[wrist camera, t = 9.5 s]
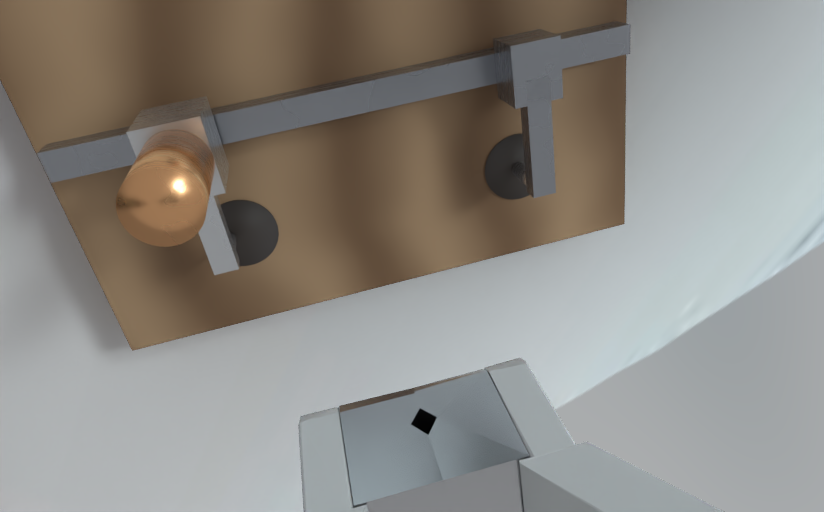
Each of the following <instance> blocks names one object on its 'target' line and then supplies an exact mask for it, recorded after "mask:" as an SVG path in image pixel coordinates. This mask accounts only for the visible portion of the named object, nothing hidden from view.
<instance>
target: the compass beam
mask: <svg viewBox="0 0 824 512" xmlns="http://www.w3.org/2000/svg"><path fill="white" fill-rule="evenodd" d="M493 46H494V47H493V48H488V49H484V50H479V51H475V52H470V53H465V54H461V55H456V56H451V57H447V58H442V59H438V60H433V61H428V62H424V63H419V64H414V65H410V66H405V67H401V68H396V69H391V70H387V71H382V72H377V73H373V74H368V75H364V76H359V77H354V78H350V79H345V80H340V81H336V82H331V83H327V84H322V85H317V86H313V87H308V88H303V89H299V90H294V91H290V92H285V93H280V94H276V95H271V96H266V97H262V98H257V99H253V100H248V101H243V102H239V103H234V104H229V105H225V106H220V107H216V108H211V112H212V115H213V118H214V121H215V124H216V127H217V130H218V133H219V136H220V139H221V142H222V145H223V144H228V143H232V142H237V141H241V140H246V139H250V138H255V137H259V136H264V135H268V134H272V133H277V132H281V131H286V130H290V129H295V128H299V127H304V126H308V125H313V124H317V123H322V122H326V121H331V120H335V119H340V118H344V117H349V116H353V115H358V114H362V113H366V112H371V111H375V110H380V109H384V108H389V107H393V106H398V105H402V104H407V103H411V102H416V101H420V100H425V99H429V98H434V97H438V96H443V95H447V94H452V93H456V92H460V91H465V90H469V89H474V88H478V87H483V86H487V85H492V84H496V83H497V90H498V98H500V99H501V100H503V101H504V102H506V103H507V104H509V105H510V106H512V107H513V108H515V109H518V108H521V121H522V135H523V148H524V161H525V163H524V162H517V163H516V164H515V165H514V166H513V169H512V172H513V174H514V175H515V176H516V177H517V178H518V179H520V180H521V181H522V182H523V183H524V184H525V185H526V188H527V192H528V193H529V194H530V195H531V196H532V197H533V198H537V197H541V196H545V195H549V194H553V193H556V184H555V164H554V144H553V124H552V104H551V101H553V100H557V99H561V98H563V82H562V69H563V68H568V67H572V66H577V65H581V64H586V63H590V62H595V61H599V60H604V59H608V58H613V57H617V56H622V55H626V54H630V24H627V23H622V22H618V21H613V22H609V23H604V24H600V25H595V26H590V27H586V28H581V29H576V30H572V31H567V32H562V33H558V34H555V33H551V32H548V31H545V30H542V29H536V30H531V31H526V32H522V33H517V34H512V35H508V36H503V37H498V38H494V39H493ZM129 128H130V126H128V127H123V128H118V129H114V130H109V131H105V132H100V133H95V134H91V135H86V136H81V137H77V138H72V139H68V140H63V141H58V142H54V143H49V144H46V145H45V146H44V147H43V148H42V149H41V150H40V151H39V152H38V153H37V155H38V157H39V159H40V161H41V164H42V166H43V168H44V170H45V172H46V174H47V176H48V178H49V180H50V182H51V183H53V182H58V181H62V180H67V179H71V178H76V177H80V176H85V175H89V174H93V173H98V172H102V171H107V170H111V169H116V168H120V167H125V166H129V165H133V164H134V162H135V160H136V155H135V153H134V150H133V148H132V145H131V143H130V140H129V138H128V135H127V133H126V132H127V130H128V129H129Z"/></svg>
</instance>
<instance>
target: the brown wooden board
mask: <svg viewBox="0 0 824 512" xmlns="http://www.w3.org/2000/svg"><path fill="white" fill-rule="evenodd" d="M626 8H627V0H0V80H1V82H2V84H3V86H4V88H5V91H6V93H7V95H8V97H9V99H10V101H11V103H12V105H13V107H14V109H15V111H16V113H17V115H18V117H19V119H20V121H21V123H22V125H23V127H24V129H25V132H26V134H27V136H28V138H29V140H30V142H31V144H32V146H33V148H34V150H35V152H36V154H37V153H38V152H39V151H40V150H41V149H42V148H43V147H44V146H45V145H46V144H49V143H54V142H58V141H63V140H68V139H72V138H77V137H81V136H86V135H91V134H95V133H100V132H105V131H109V130H114V129H118V128H123V127H128V126H131V125H132V123H133V122H134V120H135V119H136V117H137V116H138V114H139V113H140V111H141V110H144V109H149V108H153V107H158V106H163V105H168V104H172V103H177V102H182V101H186V100H191V99H196V98H200V97H205V96H207V99H208V102H209V106H210V109H211V108H216V107H220V106H225V105H229V104H234V103H239V102H243V101H248V100H253V99H257V98H262V97H266V96H271V95H276V94H280V93H285V92H290V91H294V90H299V89H303V88H308V87H313V86H317V85H322V84H327V83H331V82H336V81H340V80H345V79H350V78H354V77H359V76H364V75H368V74H373V73H377V72H382V71H387V70H391V69H396V68H401V67H405V66H410V65H414V64H419V63H424V62H428V61H433V60H438V59H442V58H447V57H451V56H456V55H461V54H465V53H470V52H475V51H479V50H484V49H488V48H493V47H494V46H493V39H494V38H498V37H503V36H508V35H512V34H517V33H522V32H526V31H531V30H536V29H542V30H545V31H548V32H551V33H555V34H558V33H562V32H567V31H572V30H576V29H581V28H586V27H590V26H595V25H600V24H604V23H609V22H613V21H618V22H622V23H626ZM562 82H563V98H561V99H557V100H553V101H551V104H552V124H553V144H554V164H555V184H556V193H553V194H549V195H545V196H541V197H537V198H533V197H532V196H531V195H530V194H529V193H528V192H527V188H526V185H525V184H524V183H523V182H522V181H521V180H520V179H518V178H517V177H516V176H515V175H514V174H513V172H512V169H513V166H514V165H515V164H516V163H517V162H524V163H525V161H524V148H523V135H522V121H521V108H518V109H515V108H513V107H512V106H510V105H509V104H507V103H506V102H504V101H503V100H501V99H500V98H498V90H497V83H496V84H492V85H487V86H483V87H478V88H474V89H469V90H465V91H460V92H456V93H452V94H447V95H443V96H438V97H434V98H429V99H425V100H420V101H416V102H411V103H407V104H402V105H398V106H393V107H389V108H384V109H380V110H375V111H371V112H366V113H362V114H358V115H353V116H349V117H344V118H340V119H335V120H331V121H326V122H322V123H317V124H313V125H308V126H304V127H299V128H295V129H290V130H286V131H281V132H277V133H272V134H268V135H264V136H259V137H255V138H250V139H246V140H241V141H237V142H232V143H228V144H223V148H224V151H225V154H226V157H227V160H228V163H229V172H228V179H227V187H226V193H224V194H219V195H217V196H218V199H219V202H220V205H221V208H222V211H223V214H224V216H225V219H226V222H227V225H228V228H229V231H230V232H231V233H233V234H234V235H235V236H236V251H237V254H238V257H239V260H240V263H239V269H238V270H234V271H230V272H226V273H221V274H217V275H214V273H213V270H212V268H211V265H210V262H209V260H208V257H207V254H206V252H205V249H204V246H203V244H202V241H201V238H200V236H199V233H197V234H196V235H195V236H194V237H193V238H192V239H190V240H188V241H187V242H185V243H182V244H179V245H176V246H170V247H159V246H153V245H150V244H147V243H144V242H142V241H140V240H138V239H136V238H135V237H133V236H132V235H131V234H130V233H129V232H128V231H127V230H126V229H125V228H124V227H123V225H122V224H121V222H120V220H119V218H118V215H117V212H116V197H117V193H118V191H119V189H120V187H121V185H122V183H123V182H124V180H125V178H126V176H127V174H128V173H129V171H130V169H131V167H132V165H129V166H125V167H120V168H116V169H111V170H107V171H102V172H98V173H93V174H89V175H85V176H80V177H76V178H71V179H67V180H62V181H58V182H53V183H51V182H50V183H51V185H52V187H53V189H54V191H55V193H56V195H57V197H58V199H59V201H60V203H61V205H62V207H63V209H64V212H65V214H66V216H67V218H68V220H69V222H70V224H71V226H72V228H73V230H74V232H75V234H76V236H77V238H78V240H79V242H80V244H81V246H82V248H83V250H84V253H85V255H86V257H87V259H88V261H89V263H90V265H91V267H92V269H93V271H94V273H95V275H96V277H97V279H98V281H99V283H100V285H101V287H102V289H103V292H104V294H105V296H106V298H107V300H108V302H109V304H110V306H111V308H112V310H113V312H114V314H115V316H116V318H117V320H118V322H119V324H120V326H121V328H122V330H123V333H124V335H125V337H126V339H127V341H128V343H129V345H130V347H131V349H132V351H133V350H137V349H141V348H144V347H148V346H152V345H156V344H160V343H164V342H168V341H172V340H175V339H179V338H183V337H187V336H191V335H195V334H199V333H203V332H207V331H210V330H214V329H218V328H222V327H226V326H230V325H234V324H238V323H241V322H245V321H249V320H253V319H257V318H261V317H265V316H269V315H272V314H276V313H280V312H284V311H288V310H292V309H296V308H300V307H304V306H307V305H311V304H315V303H319V302H323V301H327V300H331V299H335V298H338V297H342V296H346V295H350V294H354V293H358V292H362V291H366V290H369V289H373V288H377V287H381V286H385V285H389V284H393V283H397V282H401V281H404V280H408V279H412V278H416V277H420V276H424V275H428V274H432V273H435V272H439V271H443V270H447V269H451V268H455V267H459V266H463V265H466V264H470V263H474V262H478V261H482V260H486V259H490V258H494V257H498V256H501V255H505V254H509V253H513V252H517V251H521V250H525V249H529V248H532V247H536V246H540V245H544V244H548V243H552V242H556V241H560V240H563V239H567V238H571V237H575V236H579V235H583V234H587V233H591V232H595V231H598V230H602V229H606V228H610V227H614V226H618V225H622V224H624V207H625V108H626V55H622V56H617V57H613V58H608V59H604V60H599V61H595V62H590V63H586V64H581V65H577V66H572V67H568V68H563V69H562ZM37 156H38V155H37ZM38 158H39V157H38ZM39 160H40V159H39ZM40 162H41V161H40ZM44 171H45V170H44ZM45 173H46V172H45ZM46 175H47V174H46ZM47 177H48V176H47ZM48 179H49V178H48ZM49 181H50V180H49Z"/></svg>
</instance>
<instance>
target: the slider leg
mask: <svg viewBox="0 0 824 512" xmlns="http://www.w3.org/2000/svg"><path fill="white" fill-rule="evenodd" d="M126 133H127V135H128V138H129V140H130V143H131V145H132V148H133V150H134V153H135V155H136V160H135V162H134V164H133V165H132V167H131V169H130V171H129V173H128V174H127V176H126V178H125V180H124V182H123V183H122V185H121V187H120V189H119V191H118V193H117V197H116V212H117V215H118V218H119V220H120V222H121V224H122V225H123V227H124V228H125V229H126V230H127V231H128V232H129V233H130V234H131V235H132V236H133V237H135V238H136V239H138V240H140V241H142V242H144V243H147V244H150V245H153V246H159V247H170V246H176V245H179V244H182V243H185V242H187V241H188V240H190V239H192V238H193V237H194V236H195V235H196V234H197V233H199V236H200V238H201V241H202V244H203V246H204V249H205V252H206V254H207V257H208V260H209V262H210V265H211V268H212V270H213V273H214V275H217V274H221V273H226V272H230V271H234V270H238V269H239V263H240V260H239V257H238V254H237V251H236V236H235V235H234V234H233V233H231V232H230V231H229V228H228V225H227V222H226V219H225V216H224V214H223V211H222V208H221V205H220V202H219V199H218V196H217V195H219V194H224V193H226V187H227V179H228V172H229V163H228V160H227V157H226V154H225V151H224V148H223V145H222V142H221V139H220V136H219V133H218V130H217V127H216V124H215V121H214V118H213V115H212V112H211V109H210V106H209V102H208V99H207V96H205V97H200V98H196V99H191V100H186V101H182V102H177V103H172V104H168V105H163V106H158V107H153V108H149V109H144V110H141V111H140V113H139V114H138V116H137V117H136V119H135V120H134V122H133V123H132V125H131V126H130V128H129V129H128V130H127V132H126Z"/></svg>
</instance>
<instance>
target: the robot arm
mask: <svg viewBox="0 0 824 512" xmlns="http://www.w3.org/2000/svg"><path fill="white" fill-rule="evenodd" d="M339 407H340V408H339ZM339 407H338V408H332V409H328V410H324V411H320V412H316V413H312V414H307V415H303V416H301V417H300V421H299V425H298V426H299V442H300V459H301V475H302V492H303V508H304V512H724V511H722V510H720V509H718V508H716V507H714V506H712V505H710V504H709V503H707V502H705V501H703V500H701V499H699V498H697V497H695V496H693V495H691V494H689V493H687V492H685V491H683V490H681V489H679V488H677V487H675V486H673V485H671V484H670V483H668V482H666V481H664V480H662V479H660V478H657V477H655V476H654V475H652V474H650V473H648V472H646V471H644V470H642V469H640V468H638V467H636V466H634V465H632V464H630V463H629V462H626V461H624V460H623V459H621V458H619V457H617V456H615V455H613V454H611V453H609V452H607V451H605V450H603V449H601V448H599V447H597V446H595V445H593V444H591V443H589V442H584V443H581V444H577V445H576V443H575V442H574V440H573V439H572V437H571V435H570V434H569V432H568V431H567V429H566V427H565V425H564V424H563V422H562V420H561V419H560V417H559V416H558V414H557V412H556V411H555V409H554V407H553V406H552V404H551V402H550V401H549V399H548V397H547V396H546V394H545V393H544V391H543V389H542V388H541V386H540V384H539V383H538V381H537V379H536V378H535V376H534V374H533V373H532V371H531V369H530V368H529V366H528V365H527V363H526V361H524V360H523V359H521V358H517V359H514V360H510V361H507V362H503V363H500V364H496V365H493V366H489V367H486V368H485V369H481V370H477V371H474V372H470V373H466V374H463V375H459V376H455V377H452V378H448V379H444V380H441V381H437V382H434V383H430V384H426V385H423V386H419V387H415V388H412V389H408V390H404V391H399V392H395V393H391V394H387V395H383V396H379V397H375V398H370V399H366V400H362V401H358V402H354V403H350V404H346V405H342V406H339Z"/></svg>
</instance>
